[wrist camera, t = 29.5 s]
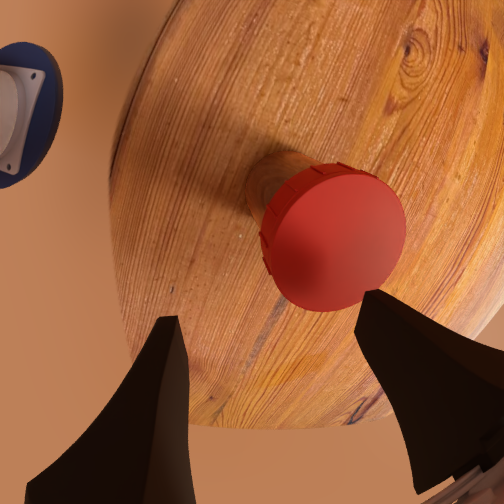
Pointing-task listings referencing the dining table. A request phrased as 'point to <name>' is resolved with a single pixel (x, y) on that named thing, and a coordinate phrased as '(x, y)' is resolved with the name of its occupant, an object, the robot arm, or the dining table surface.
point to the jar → (272, 179)
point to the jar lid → (332, 236)
